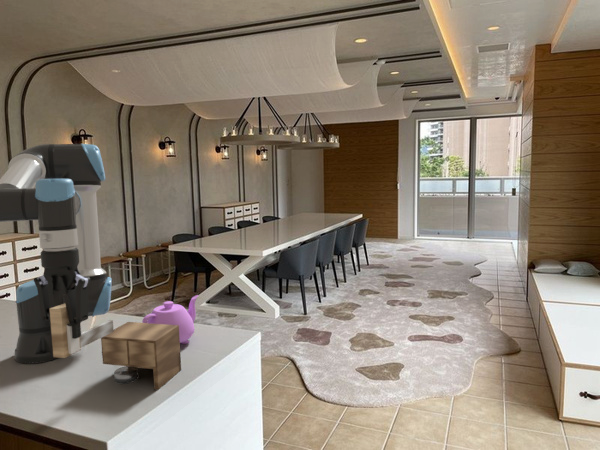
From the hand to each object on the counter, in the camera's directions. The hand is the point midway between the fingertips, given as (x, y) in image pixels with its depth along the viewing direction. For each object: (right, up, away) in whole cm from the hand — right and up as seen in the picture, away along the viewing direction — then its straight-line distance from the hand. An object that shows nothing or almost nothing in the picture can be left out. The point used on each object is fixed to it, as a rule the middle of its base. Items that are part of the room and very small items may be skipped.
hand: (67, 351), depth 106 cm
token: (+6, -13, +21) cm, 26 cm away
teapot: (+11, -10, +47) cm, 50 cm away
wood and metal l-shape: (+2, 0, +6) cm, 7 cm away
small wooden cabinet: (+10, -13, +22) cm, 27 cm away
